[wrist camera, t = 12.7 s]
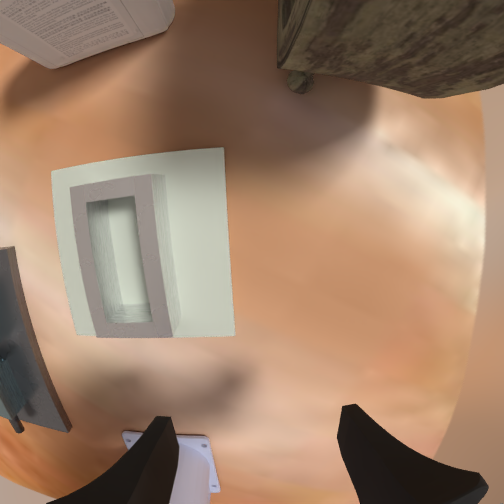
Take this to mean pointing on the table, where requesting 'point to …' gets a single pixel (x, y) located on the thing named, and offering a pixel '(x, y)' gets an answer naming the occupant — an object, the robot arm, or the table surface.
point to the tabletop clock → (394, 44)
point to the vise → (23, 359)
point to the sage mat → (182, 237)
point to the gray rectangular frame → (104, 266)
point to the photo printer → (78, 26)
